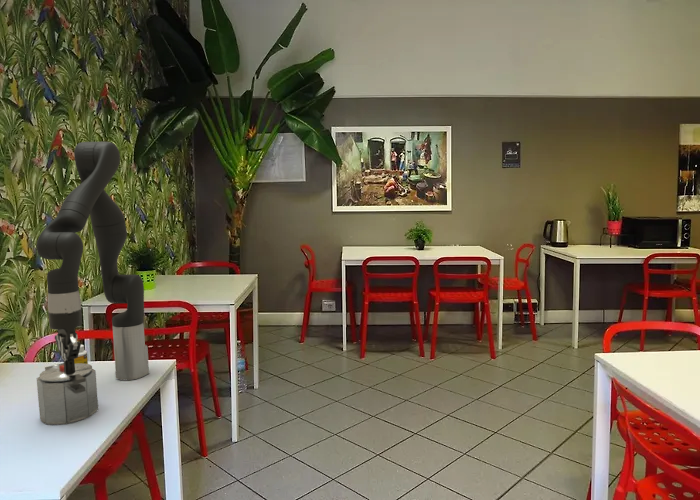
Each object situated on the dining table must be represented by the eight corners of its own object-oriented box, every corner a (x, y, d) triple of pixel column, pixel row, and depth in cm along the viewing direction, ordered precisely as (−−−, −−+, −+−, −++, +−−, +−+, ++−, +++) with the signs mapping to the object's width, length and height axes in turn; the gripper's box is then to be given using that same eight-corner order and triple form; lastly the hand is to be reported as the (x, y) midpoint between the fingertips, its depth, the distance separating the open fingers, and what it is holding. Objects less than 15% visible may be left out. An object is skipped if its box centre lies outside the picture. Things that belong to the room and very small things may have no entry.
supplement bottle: (87, 378, 169) (85, 347, 168) (68, 380, 167) (65, 349, 166) (89, 372, 174) (87, 342, 173) (70, 375, 172) (68, 344, 171)
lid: (80, 362, 150) (80, 355, 150) (105, 376, 137) (105, 368, 137) (32, 374, 142) (31, 366, 141) (53, 390, 129) (53, 381, 128)
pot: (85, 398, 152) (82, 361, 151) (110, 416, 140) (107, 376, 138) (32, 413, 143) (29, 374, 141) (54, 434, 130) (50, 391, 129)
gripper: (41, 307, 138) (46, 371, 140) (57, 315, 129) (62, 383, 131) (71, 303, 143) (76, 364, 145) (89, 310, 134) (94, 375, 136)
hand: (69, 373), depth 138 cm, fingers closed
